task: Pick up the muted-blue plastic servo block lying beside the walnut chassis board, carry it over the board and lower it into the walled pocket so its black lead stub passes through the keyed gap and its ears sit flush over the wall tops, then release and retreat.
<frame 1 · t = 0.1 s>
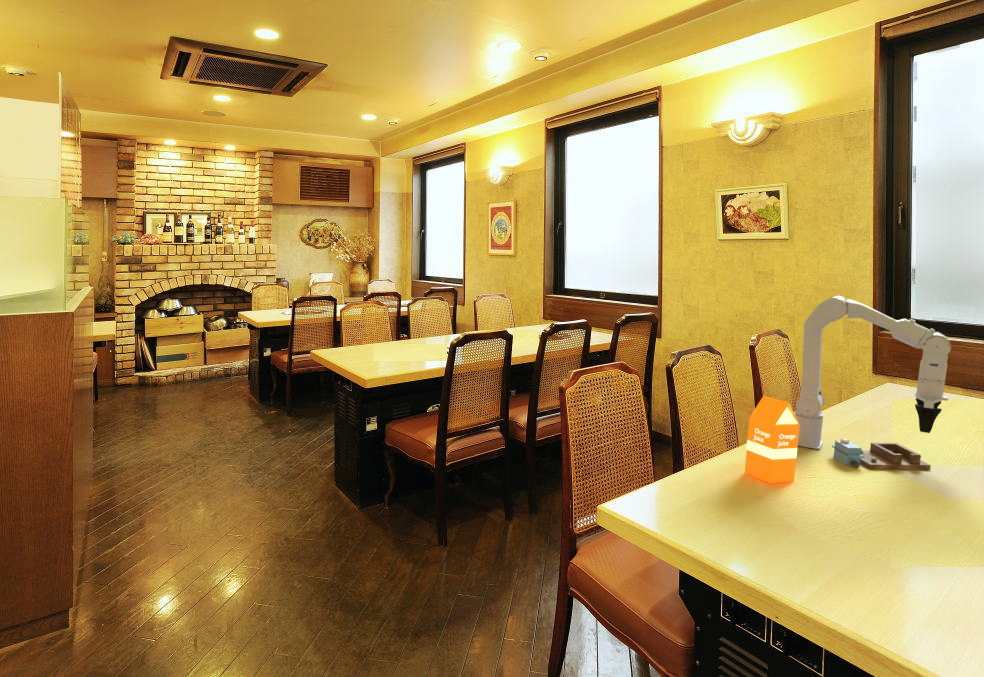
hand: (924, 428, 160), 10 cm above the table, fingers open, 7 cm apart
orange juice: (768, 477, 152), on the table
servo block: (846, 461, 164), on the table
chassis board: (886, 461, 164), on the table
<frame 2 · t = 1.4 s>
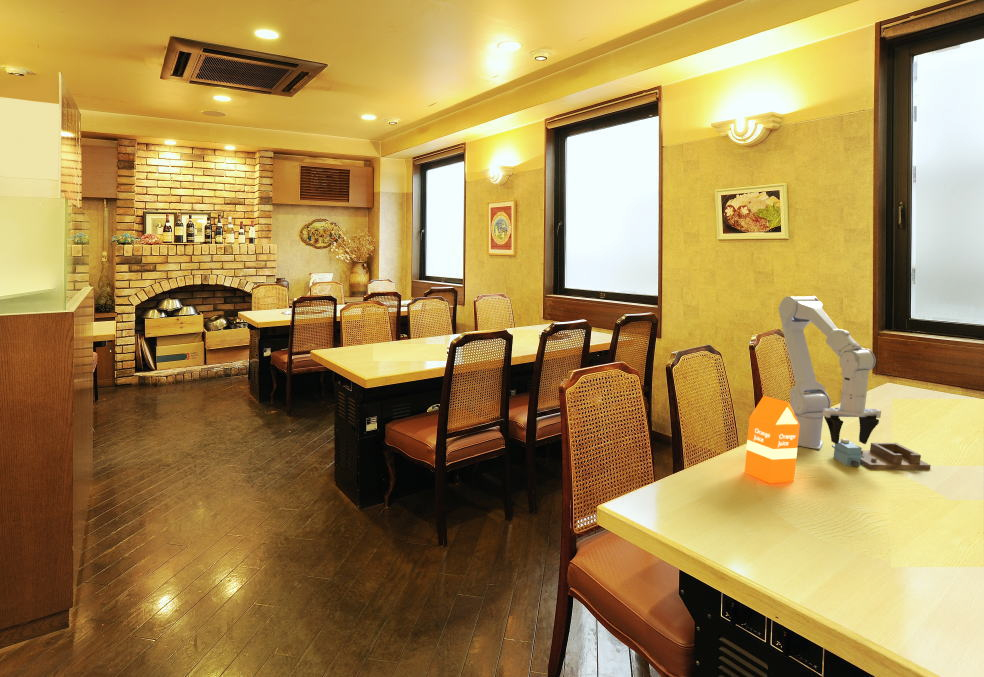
hand: (848, 442, 163), 5 cm above the table, fingers open, 7 cm apart
nothing on the table moved.
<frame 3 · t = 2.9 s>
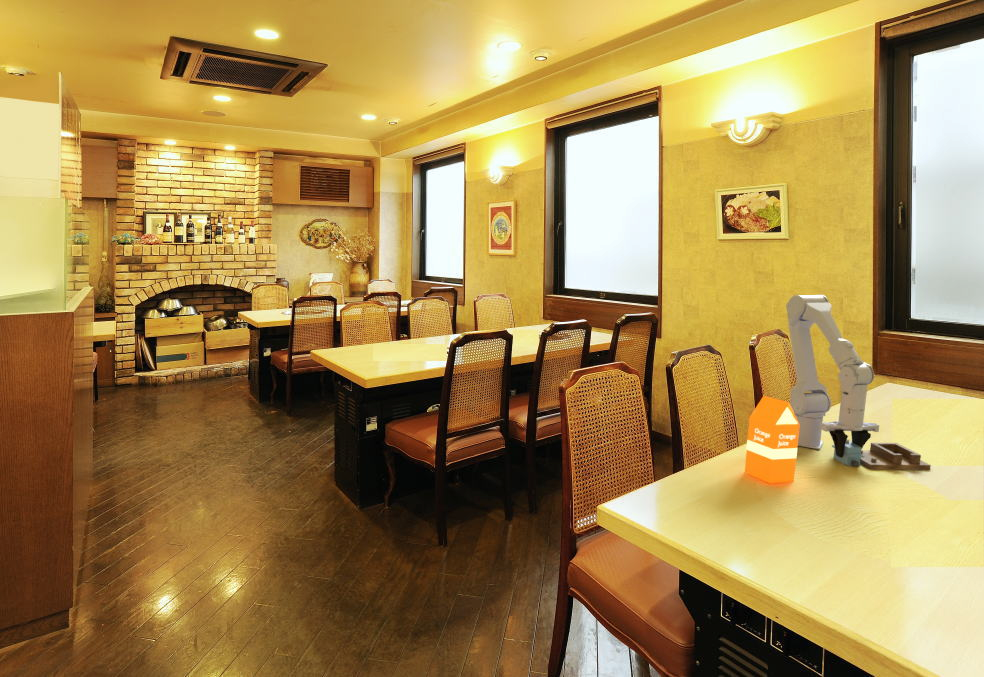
hand: (846, 456, 163), 1 cm above the table, fingers closed on servo block, 4 cm apart
servo block: (846, 461, 164), on the table, touching gripper
everything else where it was.
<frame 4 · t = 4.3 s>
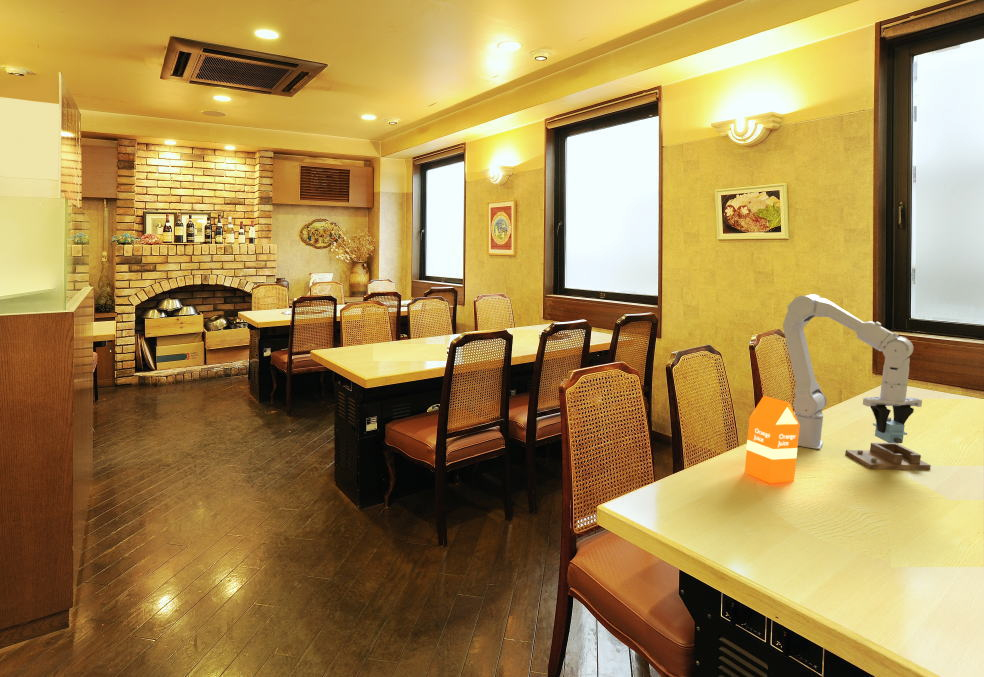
hand: (888, 431, 162), 9 cm above the table, fingers closed on servo block, 4 cm apart
servo block: (888, 439, 162), point 6 cm above the table, touching gripper
everything else where it was.
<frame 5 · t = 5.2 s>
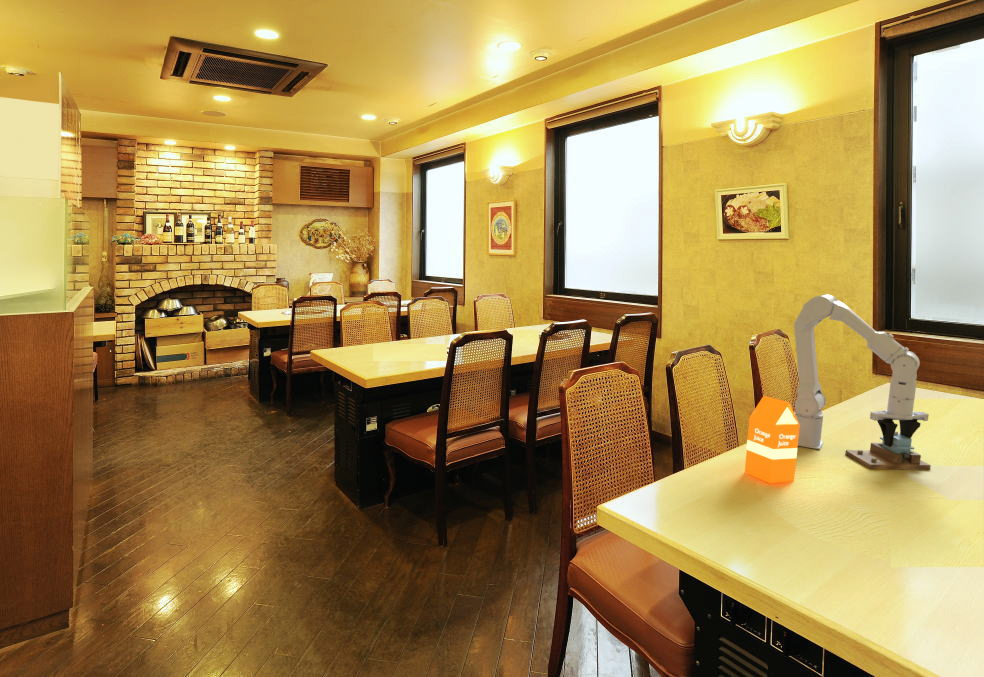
hand: (895, 445, 163), 5 cm above the table, fingers closed on servo block, 4 cm apart
servo block: (895, 453, 163), point 2 cm above the table, touching gripper
everything else where it was.
when the fingers open (4 cm above the table, at t = 6.0 s): servo block drops 1 cm, resting on chassis board.
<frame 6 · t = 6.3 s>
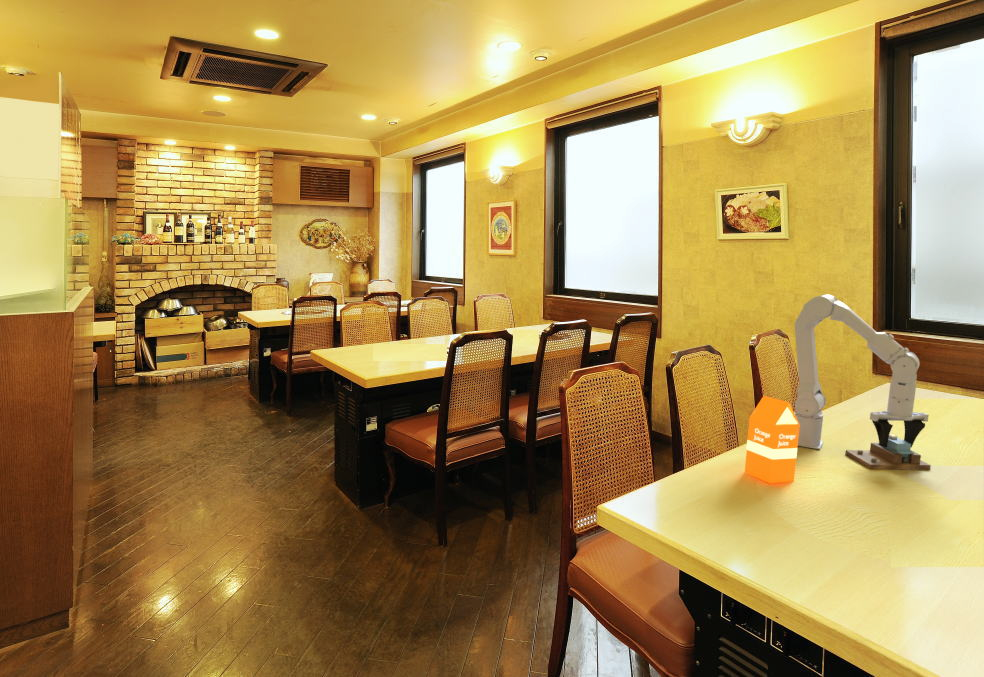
hand: (895, 446, 163), 4 cm above the table, fingers open, 6 cm apart
servo block: (894, 457, 163), point 1 cm above the table, touching chassis board
everything else where it was.
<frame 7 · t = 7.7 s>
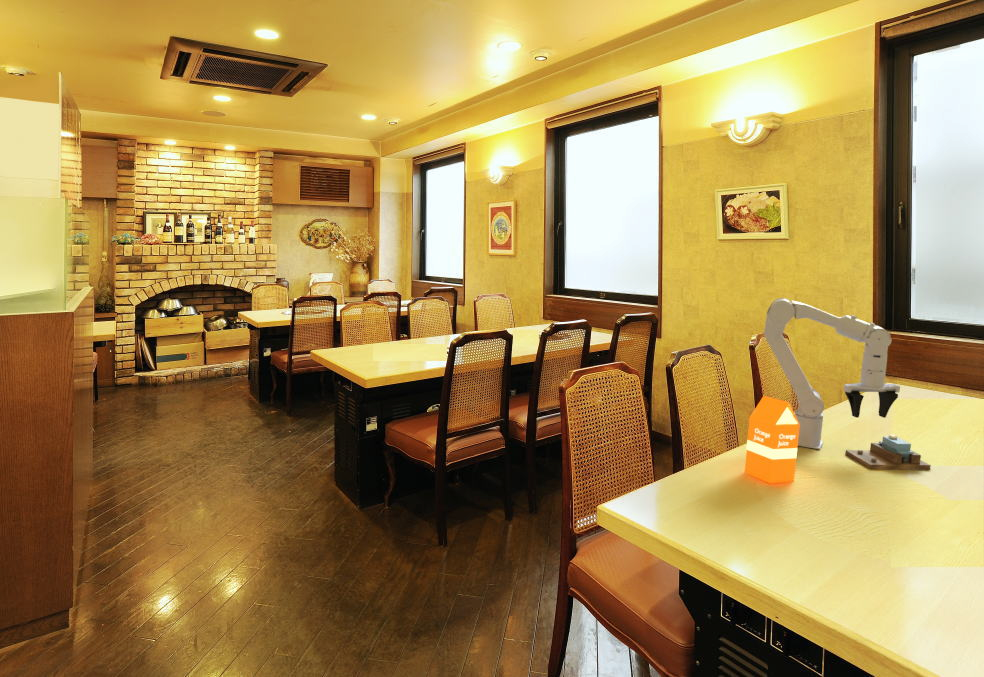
hand: (868, 416, 170), 10 cm above the table, fingers open, 7 cm apart
nothing on the table moved.
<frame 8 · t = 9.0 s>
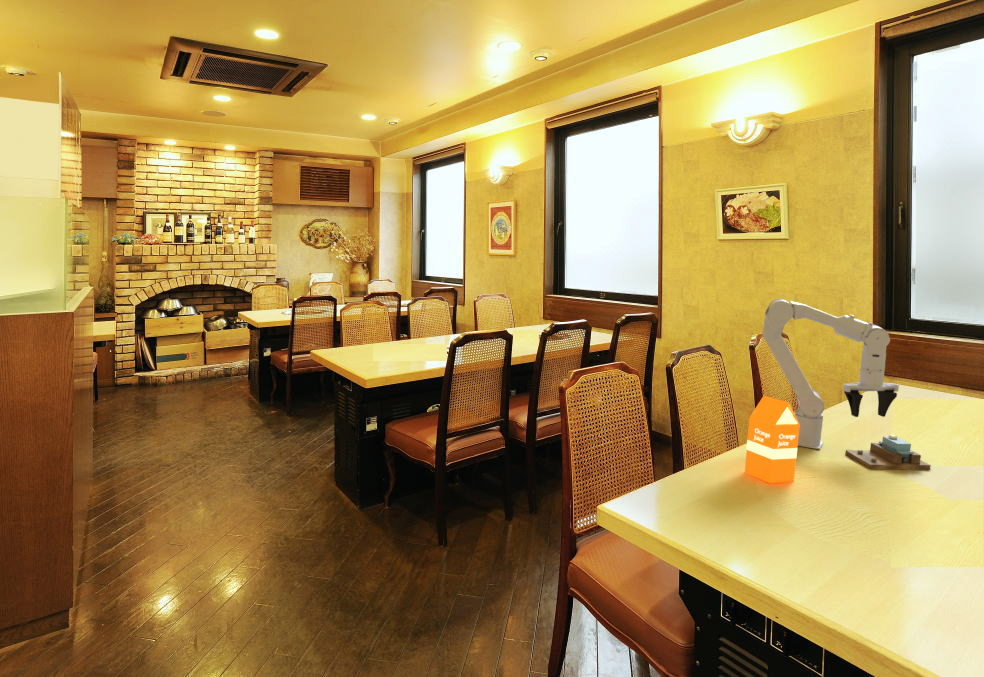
hand: (868, 415, 170), 10 cm above the table, fingers open, 7 cm apart
nothing on the table moved.
at the end: servo block 0.2 cm from the target spot on the chassis board, point 1.2 cm above the chassis board's base; servo block tilted 0°; the gripper is holding nothing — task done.
